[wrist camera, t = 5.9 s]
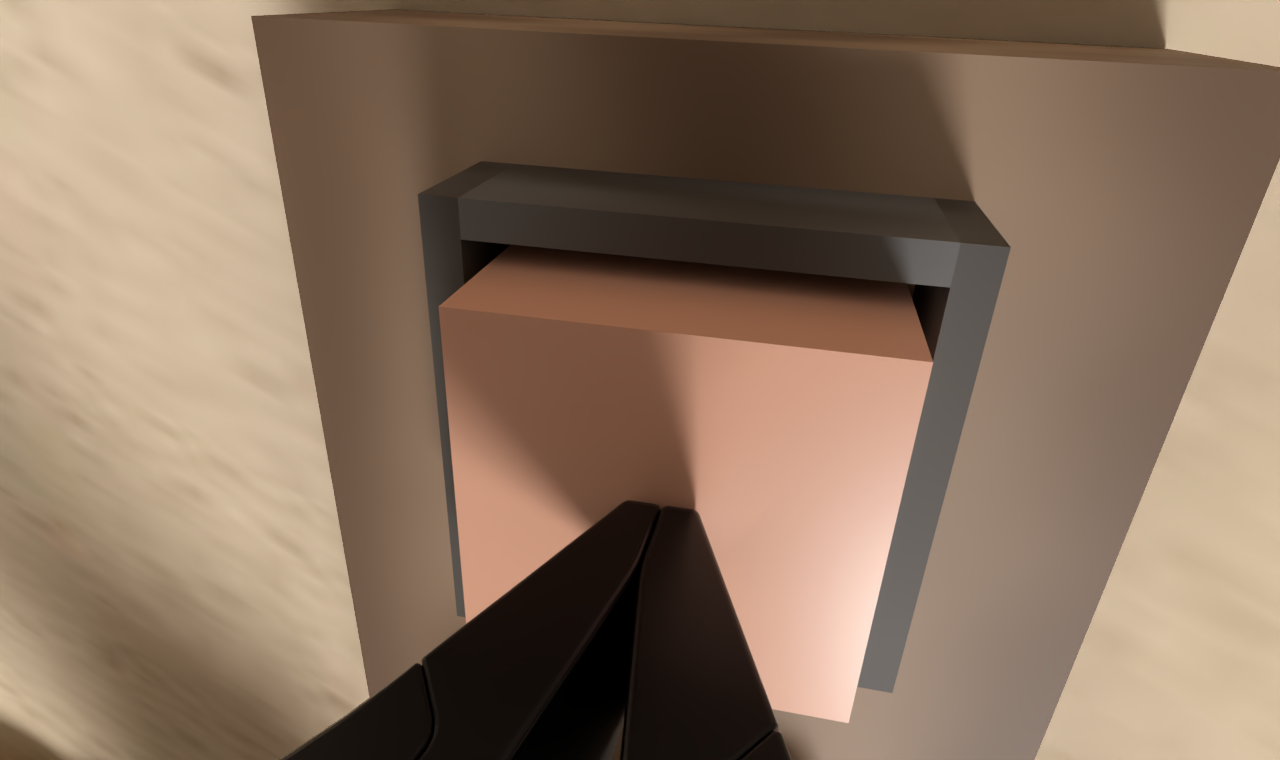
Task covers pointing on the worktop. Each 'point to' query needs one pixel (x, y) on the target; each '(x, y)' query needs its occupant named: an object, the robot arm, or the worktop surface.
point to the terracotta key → (692, 434)
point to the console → (793, 242)
